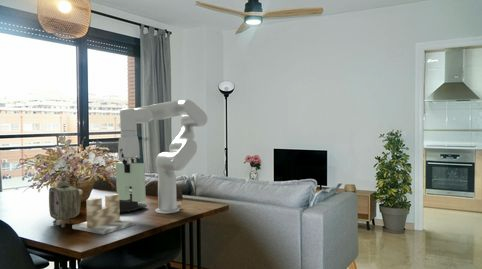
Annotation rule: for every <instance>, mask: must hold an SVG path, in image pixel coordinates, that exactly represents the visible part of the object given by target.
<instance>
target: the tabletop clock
mask: <svg viewBox="0 0 482 269" xmlns="http://www.w3.org/2000/svg"><path fill="white" fill-rule="evenodd" d="M62 174H64V176H63V177H62ZM59 176H60V179H61V181H59V182H58V183H57V186H51V187H49V190H48V208H49V209H48V210H49V215H50V217H51V218H52V219H54V220H53V221H52V224H54V225H55V224H57V223H58V221H60V220H63V222H62V224H61V228H63V229H64V228H65V227H66V224H65V223H66V220H67V224H68V225H70V224H71V225H72V221H71V220H70V219H72V218H76V217H77V216H79V215H80V213H81V205H80V194H79V190H78V189H79V188H76V187H74V186H72V185H70V182H69V181H67V177H68V176H67V173H66V171H64V170H63V171H60V174H59Z"/></svg>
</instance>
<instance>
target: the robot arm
mask: <svg viewBox="0 0 482 269" xmlns="http://www.w3.org/2000/svg"><path fill="white" fill-rule="evenodd" d="M179 116H180V126H181V127H180V132H179V133H178V134H177V136H176V137H175V138H174V139H173V140H172V141H171V143H170V145H169V147H168V151H163V152H159V154H157V156H156V158H155V165H156V171H157V198H158V199H157V201H158V202H157V204H158V207H157V208H155V212H156V213H157V214H174V213H177V212H180V207H178V206H180V205H182V201H177V176H176V173H175V172H176V171H177V172H178V171H183V170H184V169H186V166H188V164H189V163H190V162H191V161H192V159H193V158H194V157H195V155H196V154H197V149H198V144H197V142H196V141H195V140H194V139H195V130H194V127H195V128H196V127H204V126H206V124H207V123H208V116H207V113H206V112H205V111H204V110H203V109H202V108H201V107H200V106H199V105H197V104H196V103H195V102H194V101H192V100H190V99H177V100H172V101H171V100H170V101H166V102H160V103H156V104H151V105H145V106H139V107H134V108H121V109H120V111H119V120H120V121H119V124H120V125H119V126H120V137H119V138H118V145H117V146H118V147H117V149H118V150H117V156H118V161H119V162H122V163H123V164H124V172H125V173H130V164H129V163H138V160H140V158H141V155H140V152H141V151H140V142H139V137H138V129H137V128H138V126H137V124H148V123H150V122H151V121H155V120H156V121H158V120H166V119H170V118H174V117H179Z"/></svg>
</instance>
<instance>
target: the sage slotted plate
mask: <svg viewBox="0 0 482 269" xmlns="http://www.w3.org/2000/svg"><path fill="white" fill-rule="evenodd" d="M129 164H130V173H125V172H124V164H123V163H122V161H119V162H115V180H116V183H115V184H116V186H115V187H116V194H119V200H129V199H130V193H132V201H135V202H138V203H143V202H146V198H147V197H146V170H145V169H146V168H145V163H144V162H143V163H142V162H137V163H131V162H129ZM130 187H131V188H130ZM130 190H131V191H130Z"/></svg>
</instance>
